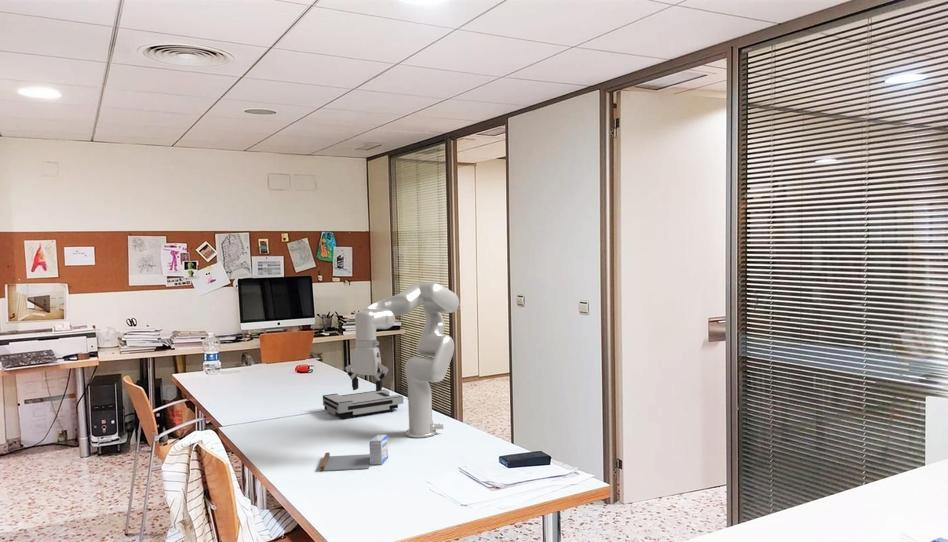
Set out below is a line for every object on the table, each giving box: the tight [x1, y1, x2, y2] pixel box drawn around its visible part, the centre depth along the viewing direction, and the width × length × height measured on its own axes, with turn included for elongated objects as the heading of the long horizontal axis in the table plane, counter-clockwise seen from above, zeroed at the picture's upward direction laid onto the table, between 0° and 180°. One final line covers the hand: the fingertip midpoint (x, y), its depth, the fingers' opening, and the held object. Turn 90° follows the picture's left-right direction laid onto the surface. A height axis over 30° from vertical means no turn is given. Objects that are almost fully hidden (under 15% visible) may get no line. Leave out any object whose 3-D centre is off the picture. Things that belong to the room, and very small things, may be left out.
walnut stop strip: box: [319, 452, 331, 473], centre depth 241 cm, size 1×16×2 cm, turn 6°
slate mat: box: [323, 453, 370, 472], centre depth 241 cm, size 16×16×1 cm
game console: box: [322, 389, 404, 421], centre depth 320 cm, size 21×32×8 cm, turn 122°
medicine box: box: [368, 434, 389, 466], centre depth 243 cm, size 8×4×9 cm, turn 171°
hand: (367, 390), depth 252 cm, fingers open, 9 cm apart
